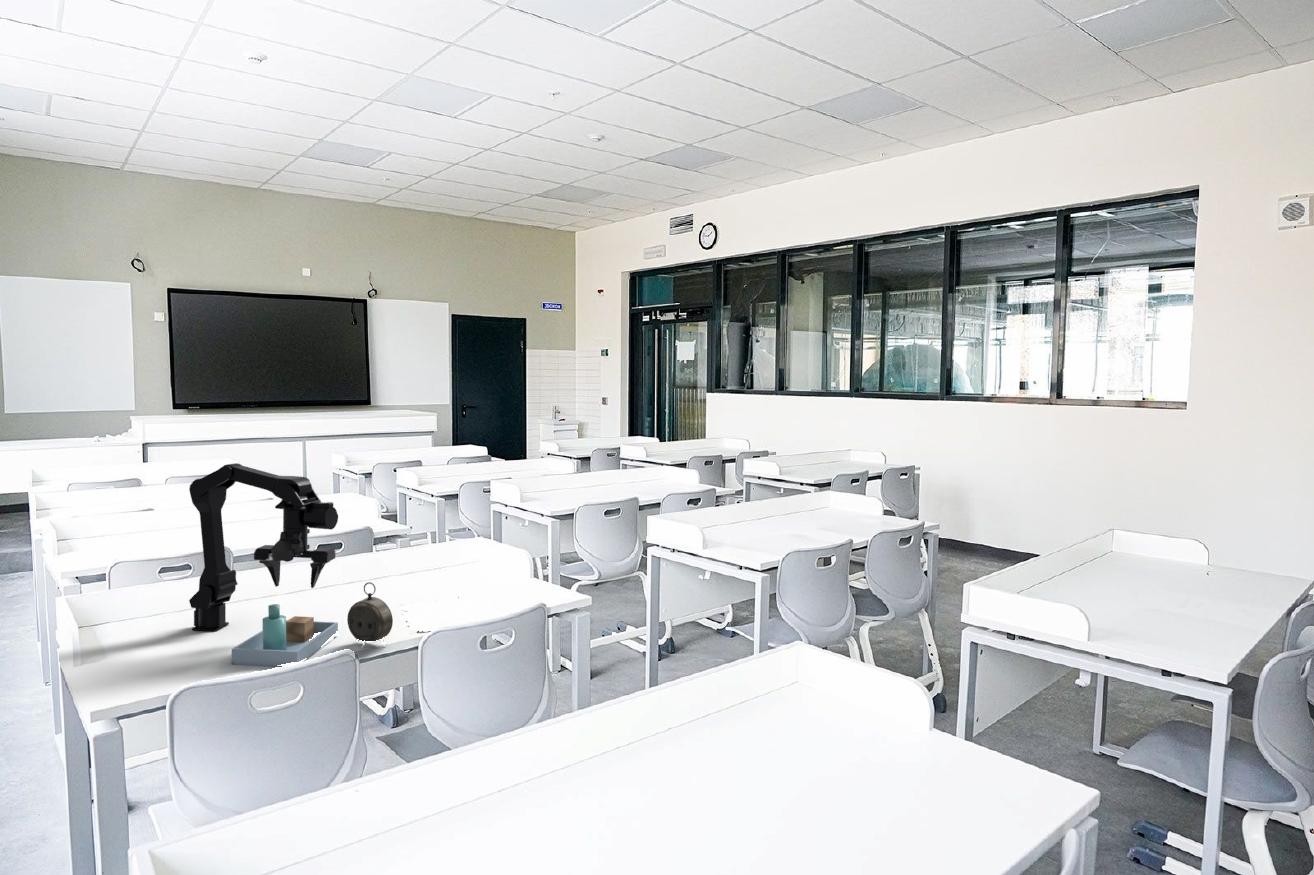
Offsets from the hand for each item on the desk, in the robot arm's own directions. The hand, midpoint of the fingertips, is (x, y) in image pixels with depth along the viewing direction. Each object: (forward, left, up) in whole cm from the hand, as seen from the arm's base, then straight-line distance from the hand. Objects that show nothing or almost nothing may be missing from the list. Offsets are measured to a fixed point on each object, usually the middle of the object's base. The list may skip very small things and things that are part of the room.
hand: (294, 587), depth 209 cm
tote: (-3, +10, -13) cm, 17 cm away
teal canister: (-3, +16, -12) cm, 21 cm away
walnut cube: (-3, +4, -12) cm, 13 cm away
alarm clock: (-21, +5, -13) cm, 25 cm away
